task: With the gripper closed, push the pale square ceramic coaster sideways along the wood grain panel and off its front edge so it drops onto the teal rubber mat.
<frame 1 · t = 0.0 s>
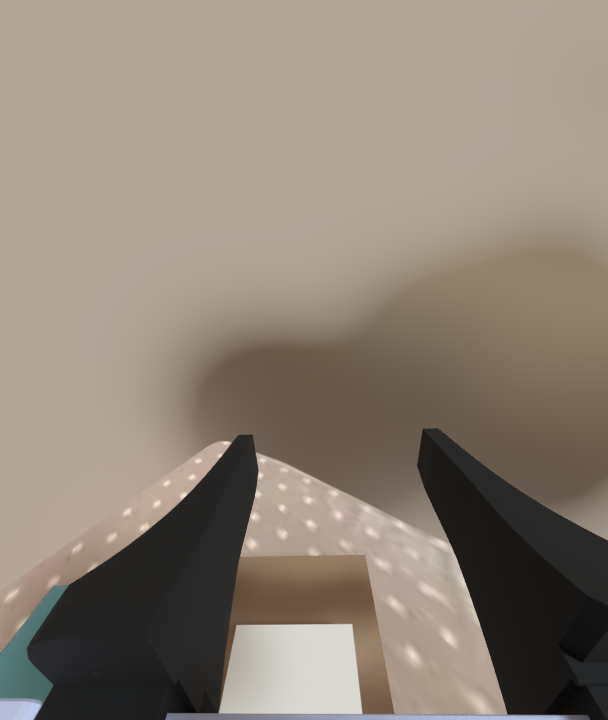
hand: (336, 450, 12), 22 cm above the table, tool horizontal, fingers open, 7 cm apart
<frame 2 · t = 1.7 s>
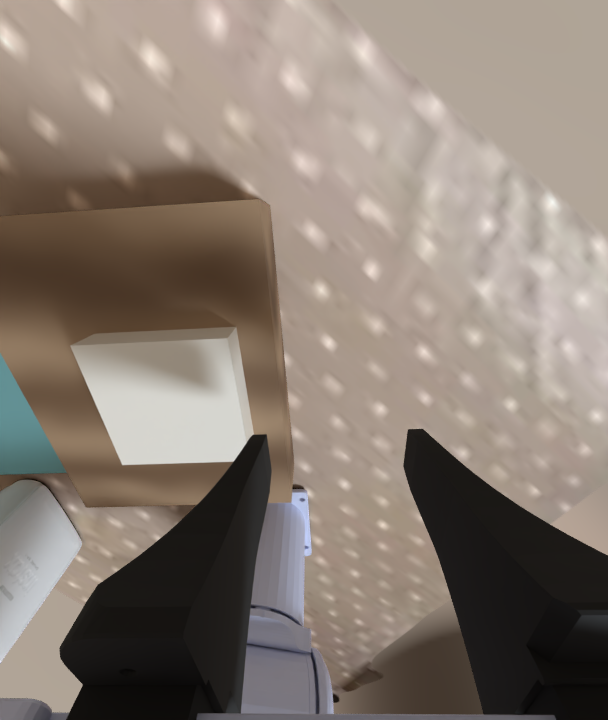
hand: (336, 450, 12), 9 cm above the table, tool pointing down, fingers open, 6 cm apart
coaster: (181, 392, 17), point 4 cm above the table, touching wood grain panel
wood grain panel: (177, 364, 21), on the table
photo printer: (52, 512, 29), on the table
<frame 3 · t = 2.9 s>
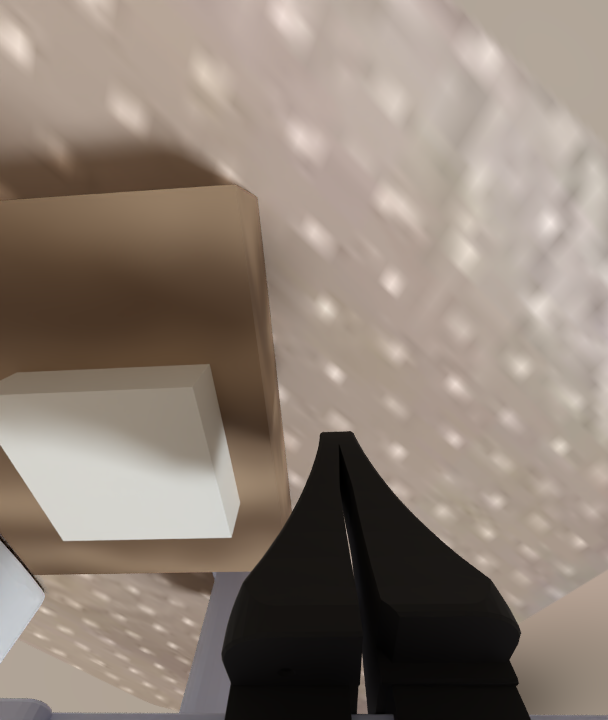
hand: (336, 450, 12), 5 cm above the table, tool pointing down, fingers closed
coaster: (141, 445, 13), point 4 cm above the table, touching wood grain panel
wood grain panel: (144, 399, 17), on the table
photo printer: (8, 562, 24), on the table
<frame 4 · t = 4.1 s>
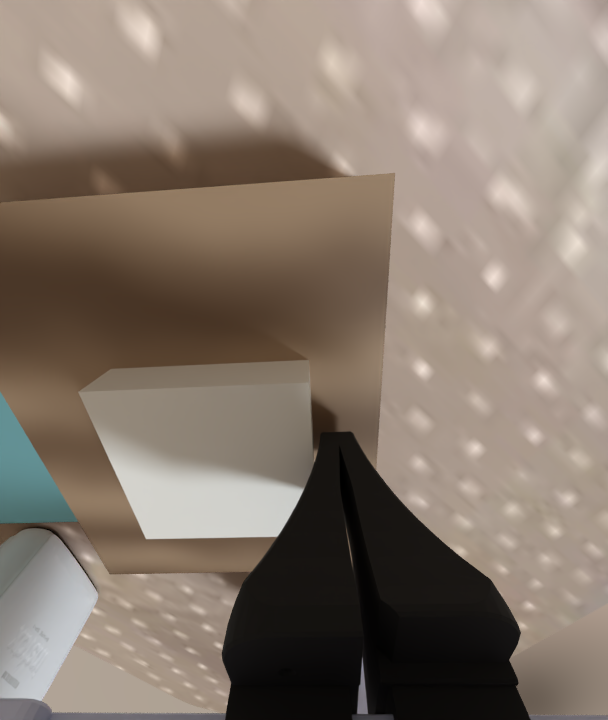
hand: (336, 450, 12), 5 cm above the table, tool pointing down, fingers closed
coaster: (226, 442, 13), point 4 cm above the table, touching wood grain panel, gripper
wood grain panel: (225, 396, 17), on the table
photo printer: (64, 561, 24), on the table
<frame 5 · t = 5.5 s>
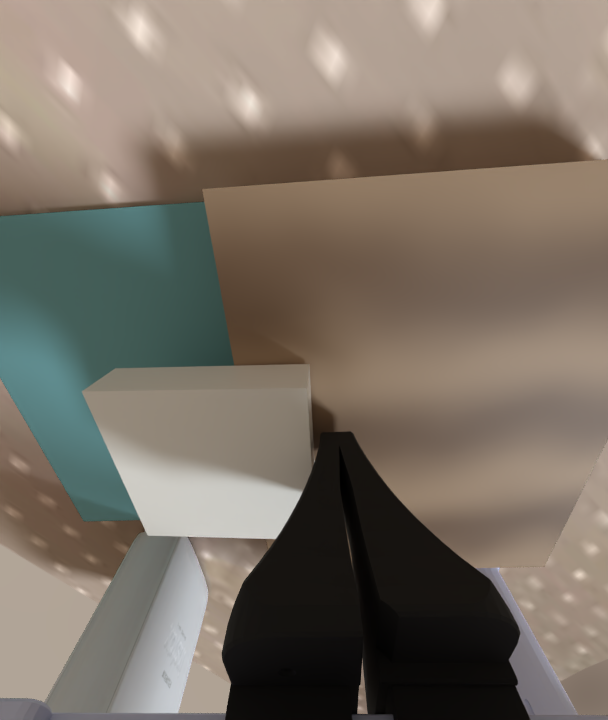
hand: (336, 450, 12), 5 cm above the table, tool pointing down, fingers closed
mat: (137, 400, 17), on the table
coaster: (226, 443, 13), point 4 cm above the table, touching wood grain panel
wood grain panel: (399, 389, 16), on the table
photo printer: (179, 559, 24), on the table
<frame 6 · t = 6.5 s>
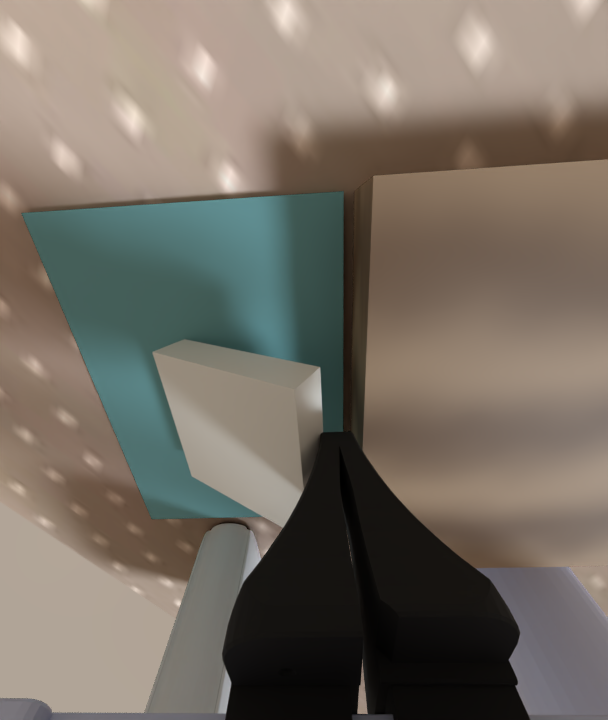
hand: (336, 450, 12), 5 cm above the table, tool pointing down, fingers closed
mat: (223, 396, 17), on the table
coaster: (254, 423, 14), point 2 cm above the table, tilted 30°
wood grain panel: (492, 385, 16), on the table
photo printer: (240, 558, 24), on the table
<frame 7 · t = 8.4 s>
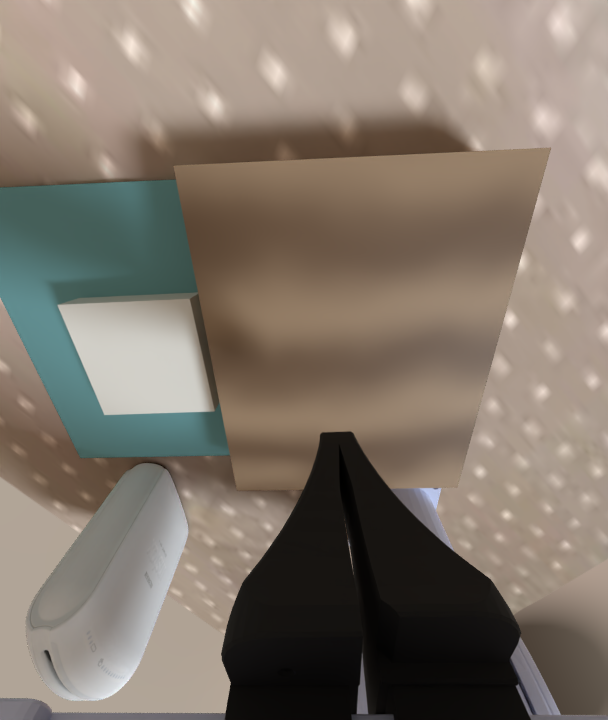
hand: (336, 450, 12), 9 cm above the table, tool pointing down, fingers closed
mat: (127, 347, 20), on the table
coaster: (156, 351, 20), resting on mat
wood grain panel: (342, 341, 20), on the table
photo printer: (163, 498, 27), on the table
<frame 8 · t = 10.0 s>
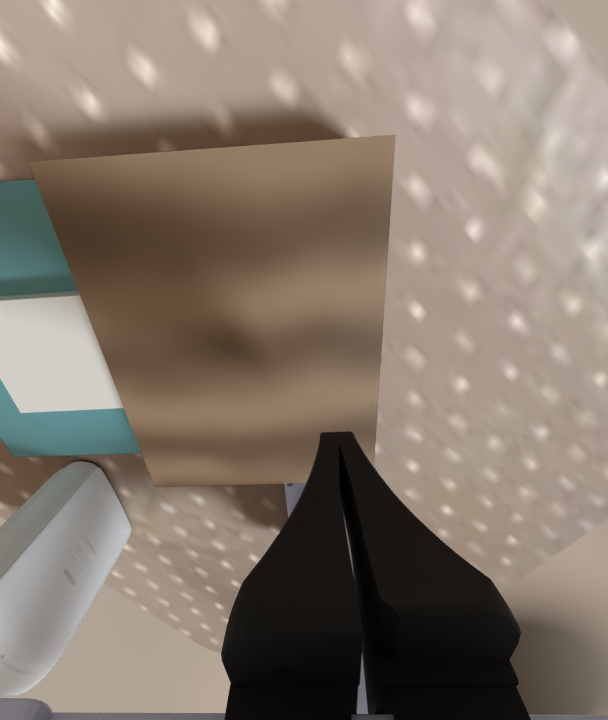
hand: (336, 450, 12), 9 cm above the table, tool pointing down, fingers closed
mat: (42, 345, 21), on the table
coaster: (69, 349, 20), resting on mat
wood grain panel: (253, 335, 20), on the table
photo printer: (103, 497, 28), on the table
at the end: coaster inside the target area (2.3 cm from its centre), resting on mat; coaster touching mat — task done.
